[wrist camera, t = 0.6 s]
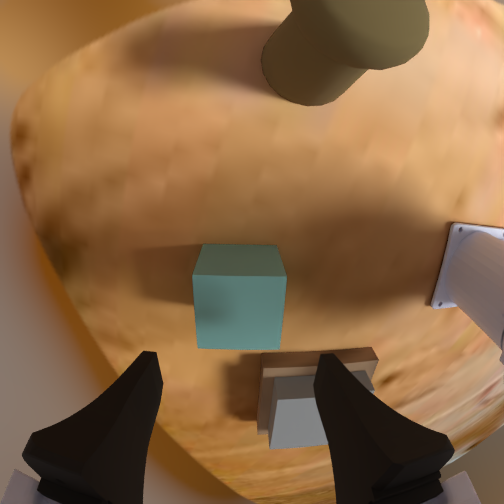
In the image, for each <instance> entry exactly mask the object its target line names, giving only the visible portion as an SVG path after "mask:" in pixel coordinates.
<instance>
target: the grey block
mask: <svg viewBox="0 0 504 504" xmlns="http://www.w3.org/2000/svg"><path fill="white" fill-rule="evenodd" d="M351 373H352V374H353V375H354V376H355V377H356V378H357V379H358V380H359V381H360V382H361V383H362V384H363V385H364V386H365V387H366V388H367V389H368V390H369V391H370V392H371V393H372V394H373V393H374V391H375V390H374V387H373V385H372V383H371V381H370V379H369V377H368V375H367V373H366V370H365V371H356V372H351ZM314 379H315V375H312V376H293V377H275V379H274V387H273V395H272V402H271V410H270V417H269V425H268V437H269V448H270V449H284V448H298V447H309V446H318V445H326V444H328V441H327V438H326V435H325V431H324V428H323V425H322V422H321V418H320V415H319V412H318V408H317V405H316V400H315V394H314V388H313V383H314Z"/></svg>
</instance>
